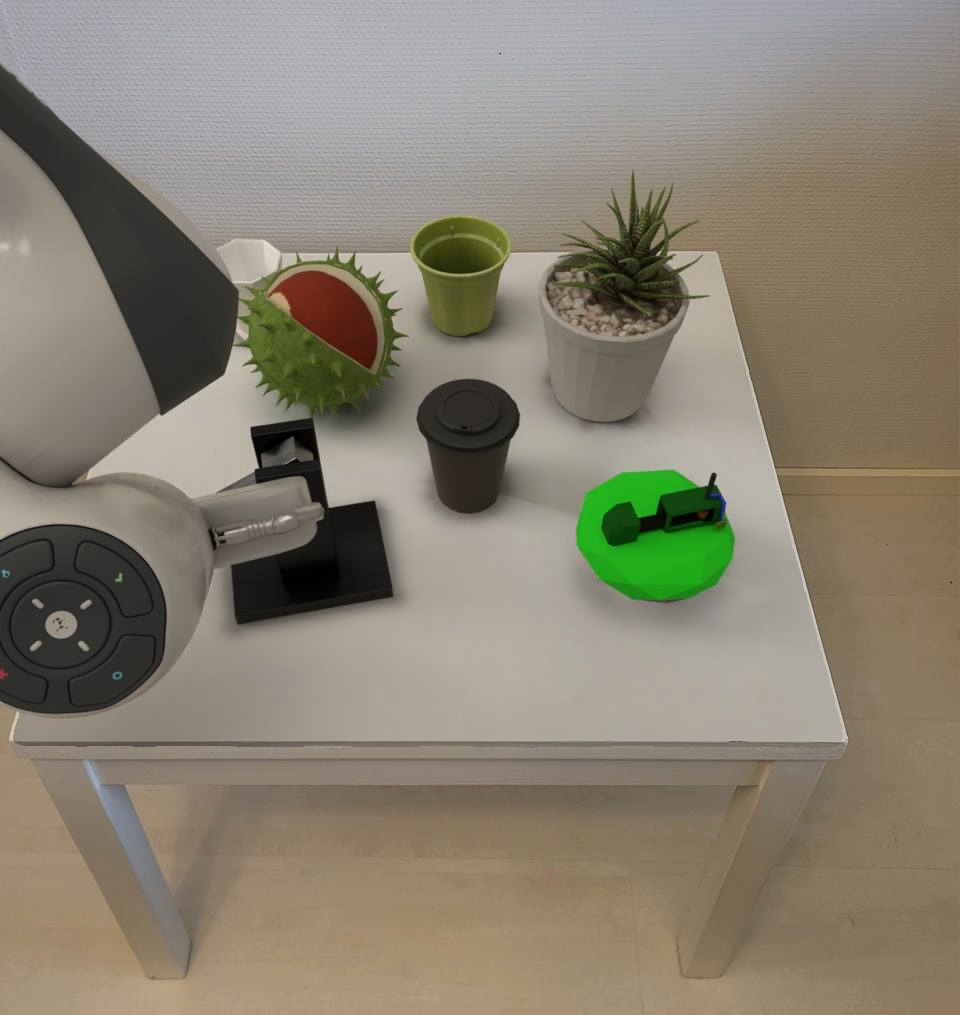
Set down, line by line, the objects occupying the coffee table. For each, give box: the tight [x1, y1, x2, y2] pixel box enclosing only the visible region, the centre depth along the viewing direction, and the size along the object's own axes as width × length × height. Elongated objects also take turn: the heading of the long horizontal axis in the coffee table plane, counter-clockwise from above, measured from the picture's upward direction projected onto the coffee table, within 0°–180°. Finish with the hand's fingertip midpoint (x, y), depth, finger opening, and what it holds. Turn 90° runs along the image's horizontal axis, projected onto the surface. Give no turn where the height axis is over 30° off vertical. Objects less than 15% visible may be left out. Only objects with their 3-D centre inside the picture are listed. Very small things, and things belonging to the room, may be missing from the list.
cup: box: [215, 237, 283, 341], centre depth 92 cm, size 7×10×8 cm
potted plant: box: [538, 169, 711, 423], centre depth 82 cm, size 13×14×20 cm
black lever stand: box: [230, 417, 394, 625], centre depth 71 cm, size 12×9×14 cm
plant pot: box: [409, 214, 512, 337], centre depth 92 cm, size 9×9×9 cm
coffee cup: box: [416, 378, 521, 515], centre depth 78 cm, size 8×8×10 cm
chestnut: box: [232, 245, 410, 421], centre depth 84 cm, size 15×14×15 cm
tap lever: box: [215, 436, 314, 493], centre depth 69 cm, size 14×3×3 cm, turn 103°
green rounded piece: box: [575, 469, 736, 604], centre depth 73 cm, size 12×12×11 cm
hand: (152, 531), depth 62 cm, fingers closed
